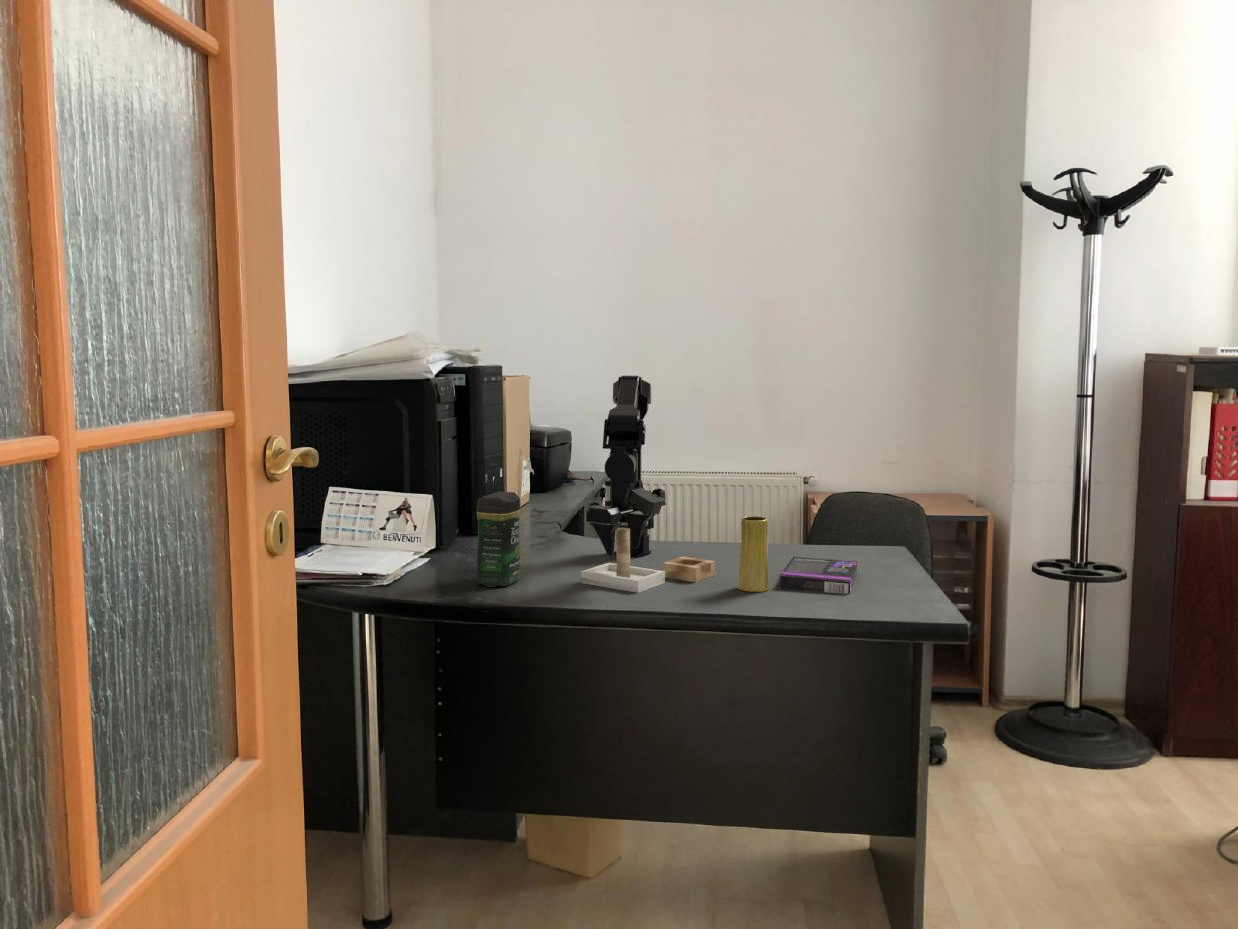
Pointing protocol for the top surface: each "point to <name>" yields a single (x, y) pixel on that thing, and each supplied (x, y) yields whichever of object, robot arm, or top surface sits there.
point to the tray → (623, 578)
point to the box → (819, 575)
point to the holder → (689, 569)
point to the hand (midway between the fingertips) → (623, 551)
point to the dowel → (623, 552)
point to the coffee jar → (498, 539)
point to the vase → (754, 554)
